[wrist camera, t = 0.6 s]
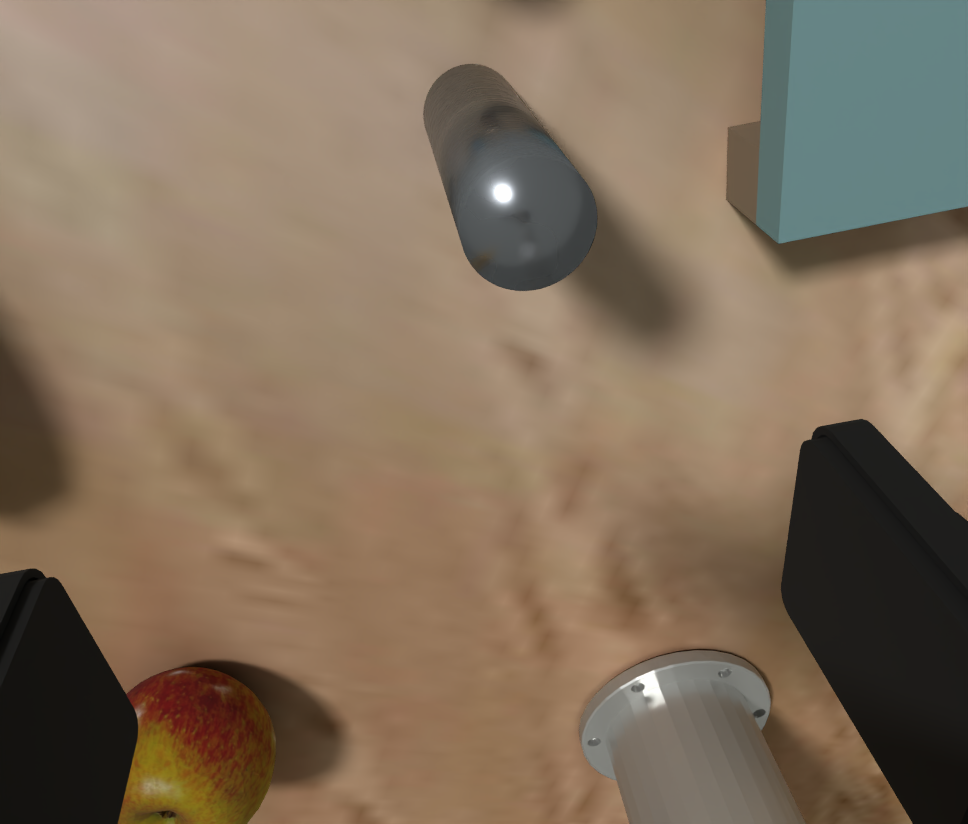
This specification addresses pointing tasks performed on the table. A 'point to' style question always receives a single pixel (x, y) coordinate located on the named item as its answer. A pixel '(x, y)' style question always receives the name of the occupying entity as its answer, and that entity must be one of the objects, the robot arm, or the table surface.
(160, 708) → the fruit
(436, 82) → the tall pin
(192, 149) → the table surface
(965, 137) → the hole bridge
